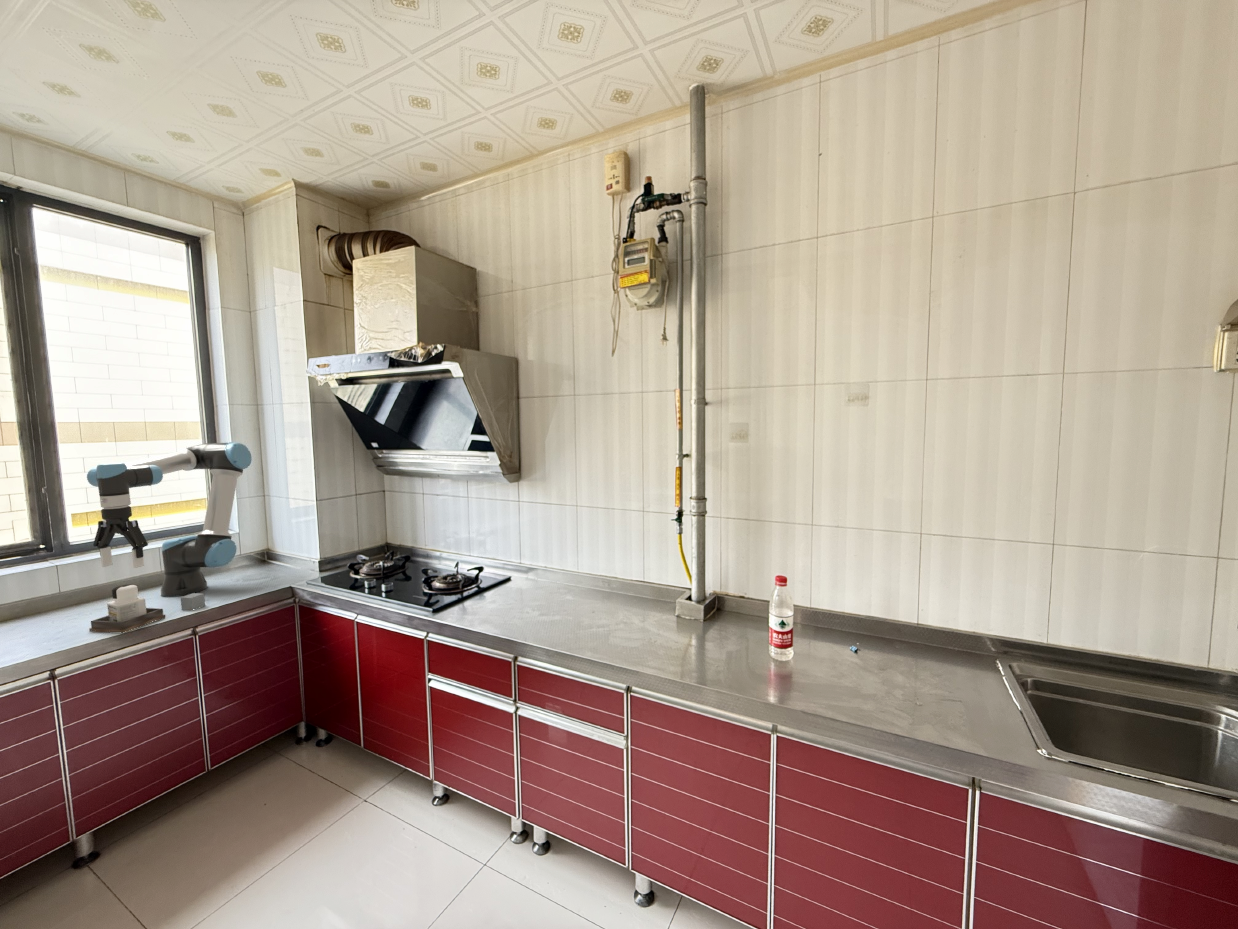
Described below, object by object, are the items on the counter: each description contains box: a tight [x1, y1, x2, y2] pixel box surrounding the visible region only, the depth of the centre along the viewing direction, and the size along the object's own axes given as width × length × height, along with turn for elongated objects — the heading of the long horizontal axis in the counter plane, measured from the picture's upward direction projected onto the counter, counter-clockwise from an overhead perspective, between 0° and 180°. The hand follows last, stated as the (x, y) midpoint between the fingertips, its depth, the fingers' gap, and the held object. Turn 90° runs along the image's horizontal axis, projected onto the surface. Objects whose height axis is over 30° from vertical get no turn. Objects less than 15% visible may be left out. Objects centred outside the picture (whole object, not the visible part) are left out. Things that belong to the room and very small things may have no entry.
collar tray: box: [89, 607, 166, 634], centre depth 182 cm, size 14×14×4 cm
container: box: [106, 583, 147, 622], centre depth 181 cm, size 8×8×13 cm
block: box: [179, 592, 206, 611], centre depth 197 cm, size 5×5×5 cm
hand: (123, 566), depth 180 cm, fingers open, 13 cm apart
